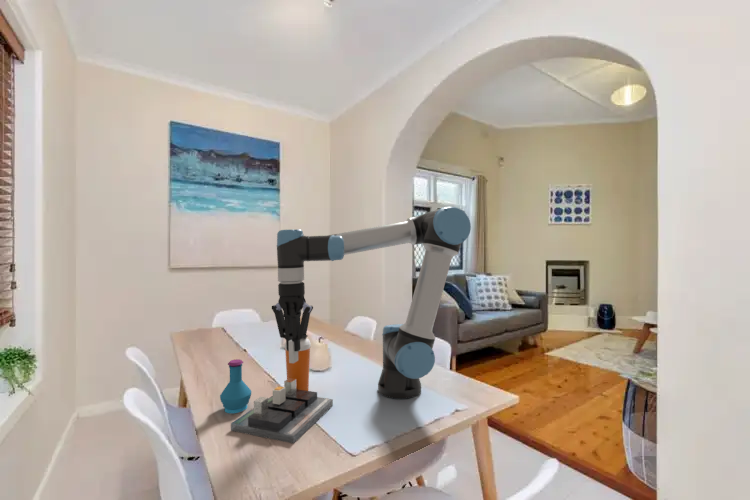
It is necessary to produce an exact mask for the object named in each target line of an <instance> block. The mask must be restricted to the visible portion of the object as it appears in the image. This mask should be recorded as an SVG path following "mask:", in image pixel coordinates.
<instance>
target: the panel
mask: <svg viewBox="0 0 750 500" xmlns="http://www.w3.org/2000/svg"><path fill="white" fill-rule="evenodd" d="M283 384H284V386H283V387H285V392H286V400H285V401H284V402H283V403H281V404H280V405H279V404H273V395H271V396H270V397H263V396H259V397H258V398H257V399H255V400H253V408H251V410H249V411H247V412H246V413H245V414H243V415H241V416H240V417H239V418H237V419H235V420H234V421H232V422H231V423H230V431H231V432H236V433H239V434H241V433H242V434H246V435H250V436H256V437H260V438H263V439H264V438H265V439H270V440H275V441H280V442H283V443H290V444H295V443H296V442H297V441H299V439H300V438H301V437H302V436H303V435H304V434H305V433H306V432H308V430H309V429H310V428H311V427H313V426H314V425H315V424H316V422H318V421H319V419H320V418H322V417H323V414H324V413H325V412H326V411H327V410H328V411H329V410H330V409H331V408H332V407H333V405H334V403H333V400H334V399H332V398H325V397H321V396H318V391H313V390H312V391H310V390H308V391H305V390H298V389H296V379H292V378H289V379H287V378H286V380H284V383H283ZM329 408H330V409H329ZM328 411H327V412H328ZM327 412H326V413H327ZM326 413H325V414H326ZM325 414H324V415H325Z"/></svg>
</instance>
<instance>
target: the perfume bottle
mask: <svg viewBox="0 0 750 500" xmlns="http://www.w3.org/2000/svg"><path fill="white" fill-rule="evenodd" d="M243 364H244V361H243V360H242V359H240V358H239V359H237V358H236V359H231V360H230V361H228V362H227V365H228V369H229V382H228V383H227V385H226V386H225V388H224V389H223V390H222V392H220V395H219V398H220V402H221V404H222V407H223V408H224V412H225V413H227V414H238V413H243V412H244V411H246V410H247V408H248V405H249V401H250V399H251V397H252V390H251V389H250V387H249V386H248V385H247V384H246V383H245V381H243V369H242V368H243Z"/></svg>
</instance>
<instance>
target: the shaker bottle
mask: <svg viewBox="0 0 750 500" xmlns="http://www.w3.org/2000/svg"><path fill="white" fill-rule="evenodd" d="M308 336H309V335H308V334H306V337H304V338H302V339H300V350H299V351H298V361H297V362H295V363H289V351H287V349H286V341H285V343H284V352H285V353H284V354H285V367H286V369H285V370H286V380H287V379H289V378H292V379H296V389H298V390H305V391H309V383H310V359H311V358H310V357H311V356H310V355H311V353H310V352H311V347H312V346H311V345H312V343H311V341H310V339H309V338H308ZM292 339H293V338H292Z"/></svg>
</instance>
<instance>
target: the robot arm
mask: <svg viewBox="0 0 750 500" xmlns="http://www.w3.org/2000/svg"><path fill="white" fill-rule="evenodd" d="M471 229H472V227H471V220H470V218H469V216H468V215H467V214H466V212H465V211H464V210H462V209H461V208H459V207H456V206H442V207H441V208H438V209H433V210H430V211H428V212H425V213H423V214H420V215H417V216H413V217H409V218H407V219H406V220H405V221H401V222H396V223H390V224H389V223H388V224H385V225H380V226H379V225H378V226H373V227H368V228H363V229H362V228H361V229H357V230H351V231H350V230H349V231H344V232H340V233H333V234H328V235H311V236H310V235H304V232H303V230H302V229H281V230H278V232H277V234H276V235H277V236H276V255H277V256H276V257H277V259H276V260H277V282H279V283H278V284H277V287H278V289H277V290H278V291H277V293H278V297H279V298H278V300H277V301H278V302H277V303H276V304H274V305H272V306H271V310H272V311H273V313H274V316H275V321H276V324H277V330H278V333H279V337H280V338H281V339H284V340H285V342H286V349H287V351H289V363H295V362H297V361H298V351H299V350H300V339H302V338H304V337H306V335H307V332H308V328H309V323H310V322H309V321H310V318H311V313H312V311H313V310H314V306H313V305H309V303H307V302H306V298H305V289H306V288H305V282H303V281H304V280H305V267H304V266H305V262H327V261H331V262H333V261H342V260H343V259H344V257H345V256H346V255H351V254H356V253H361V252H363V253H364V252H367V251H373V250H378V249H383V248H388V247H395V246H399V245H405V244H411V245H412V246H416V245H420V244H421V245H422V247H423V248H424V256H423V259H422V263H421V266H420V270H419V272H418V273H419V274H418V277H417V281H416V283H415V287H414V292H413V295H412V298H411V303H410V305H409V306H410V307H409V310H408V313H407V317H406V320H405V323H399V324H398V323H397V324H387V325H385V326H383V329H382V335H381V336H382V369H381V372H380V377H379V379H378V382H377V385H378V386H377V391H378V393H379V394H381V395H382V396H384V397H387V398H391V399H397V400H398V399H399V400H401V399H402V400H403V399H404V400H405V399H406V400H407V399H411V398H414V397H417V396H419V395H420V394H421V393H422V383H421V380H420V379H421V378H424V377H425V376H427V375H428V374H429V373H430V372H432V369H433V368H434V366H435V362H436V355H435V351H434V350H433V347H434V344H435V341H436V336H435V334H434V333H433V328H434V324H435V320H436V318H437V314H438V311H439V307H440V302H441V299H442V295H443V293H444V288H445V285H446V282H447V281H446V280H447V277H448V272H449V271H450V266H451V263H452V260H453V258H454V257H456V255H457V256H458V254H459V252H460V250H461V249H460V248H461V245H462V243H464V242H465V241H466V240H467V239H468V238H469V235H470V234H471ZM302 311H303V312H302ZM301 315H302V316H301ZM292 338H293V339H292Z"/></svg>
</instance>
